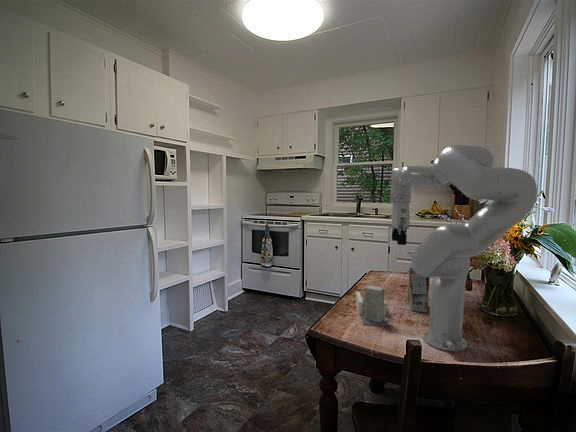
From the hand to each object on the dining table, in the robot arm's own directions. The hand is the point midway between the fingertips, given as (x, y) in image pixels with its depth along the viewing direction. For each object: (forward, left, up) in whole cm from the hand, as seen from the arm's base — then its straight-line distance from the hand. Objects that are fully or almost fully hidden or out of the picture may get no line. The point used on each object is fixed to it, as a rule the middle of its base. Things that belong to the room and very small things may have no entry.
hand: (398, 242), depth 122 cm
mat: (-10, +10, -28) cm, 32 cm away
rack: (+1, +10, -28) cm, 30 cm away
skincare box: (-10, +10, -28) cm, 32 cm away
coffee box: (+6, -10, -29) cm, 31 cm away
